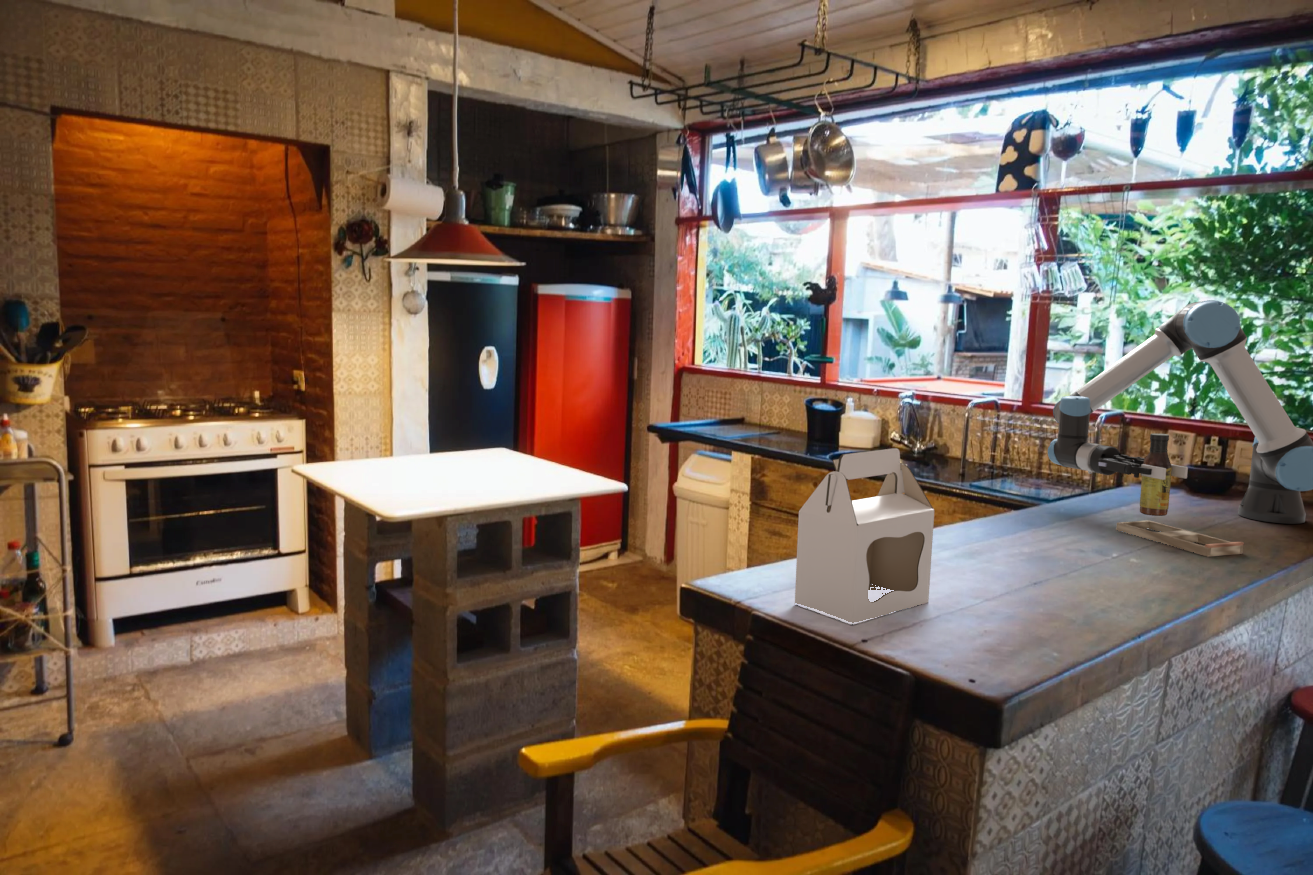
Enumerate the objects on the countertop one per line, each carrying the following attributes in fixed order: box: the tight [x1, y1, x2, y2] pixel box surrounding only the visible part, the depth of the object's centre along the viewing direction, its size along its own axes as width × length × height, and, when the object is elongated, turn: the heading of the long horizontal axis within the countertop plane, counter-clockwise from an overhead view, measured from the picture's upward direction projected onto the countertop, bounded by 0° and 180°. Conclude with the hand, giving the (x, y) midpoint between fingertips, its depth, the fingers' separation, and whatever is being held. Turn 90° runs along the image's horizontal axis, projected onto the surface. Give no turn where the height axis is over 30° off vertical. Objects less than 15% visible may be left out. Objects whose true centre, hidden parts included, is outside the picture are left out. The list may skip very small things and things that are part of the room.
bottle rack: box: [1115, 519, 1245, 557], centre depth 216 cm, size 11×26×3 cm, turn 19°
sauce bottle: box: [1139, 433, 1172, 517], centre depth 220 cm, size 6×6×20 cm
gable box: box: [794, 447, 935, 623], centre depth 161 cm, size 22×13×28 cm, turn 129°
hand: (1175, 473), depth 215 cm, fingers closed on sauce bottle, 6 cm apart
